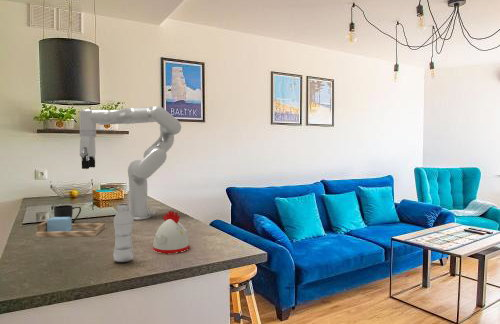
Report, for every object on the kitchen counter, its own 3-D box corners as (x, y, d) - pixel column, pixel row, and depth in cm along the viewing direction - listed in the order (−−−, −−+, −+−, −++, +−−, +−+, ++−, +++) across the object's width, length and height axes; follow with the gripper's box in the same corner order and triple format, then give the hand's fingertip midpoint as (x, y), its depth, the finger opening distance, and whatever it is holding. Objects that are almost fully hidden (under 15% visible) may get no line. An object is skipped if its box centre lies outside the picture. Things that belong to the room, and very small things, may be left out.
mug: (80, 226, 176) (80, 207, 176) (53, 228, 172) (52, 208, 171) (81, 222, 184) (81, 204, 183) (55, 224, 179) (54, 205, 179)
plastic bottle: (116, 258, 129) (115, 203, 127) (135, 258, 129) (135, 203, 128) (110, 264, 122) (110, 206, 121) (131, 264, 123) (130, 206, 122)
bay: (105, 229, 170) (105, 217, 170) (95, 238, 154) (95, 224, 154) (52, 230, 168) (52, 217, 167) (36, 239, 152) (35, 225, 151)
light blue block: (71, 230, 164) (71, 216, 163) (66, 233, 158) (66, 219, 157) (53, 230, 163) (52, 216, 162) (47, 233, 157) (47, 219, 156)
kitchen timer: (171, 256, 132) (171, 216, 131) (145, 250, 139) (145, 212, 138) (196, 247, 143) (196, 210, 143) (171, 242, 151) (171, 206, 150)
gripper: (86, 134, 188) (86, 166, 189) (73, 133, 171) (74, 169, 172) (101, 134, 189) (101, 166, 190) (90, 133, 172) (90, 169, 173)
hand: (88, 168), depth 181 cm, fingers open, 9 cm apart
